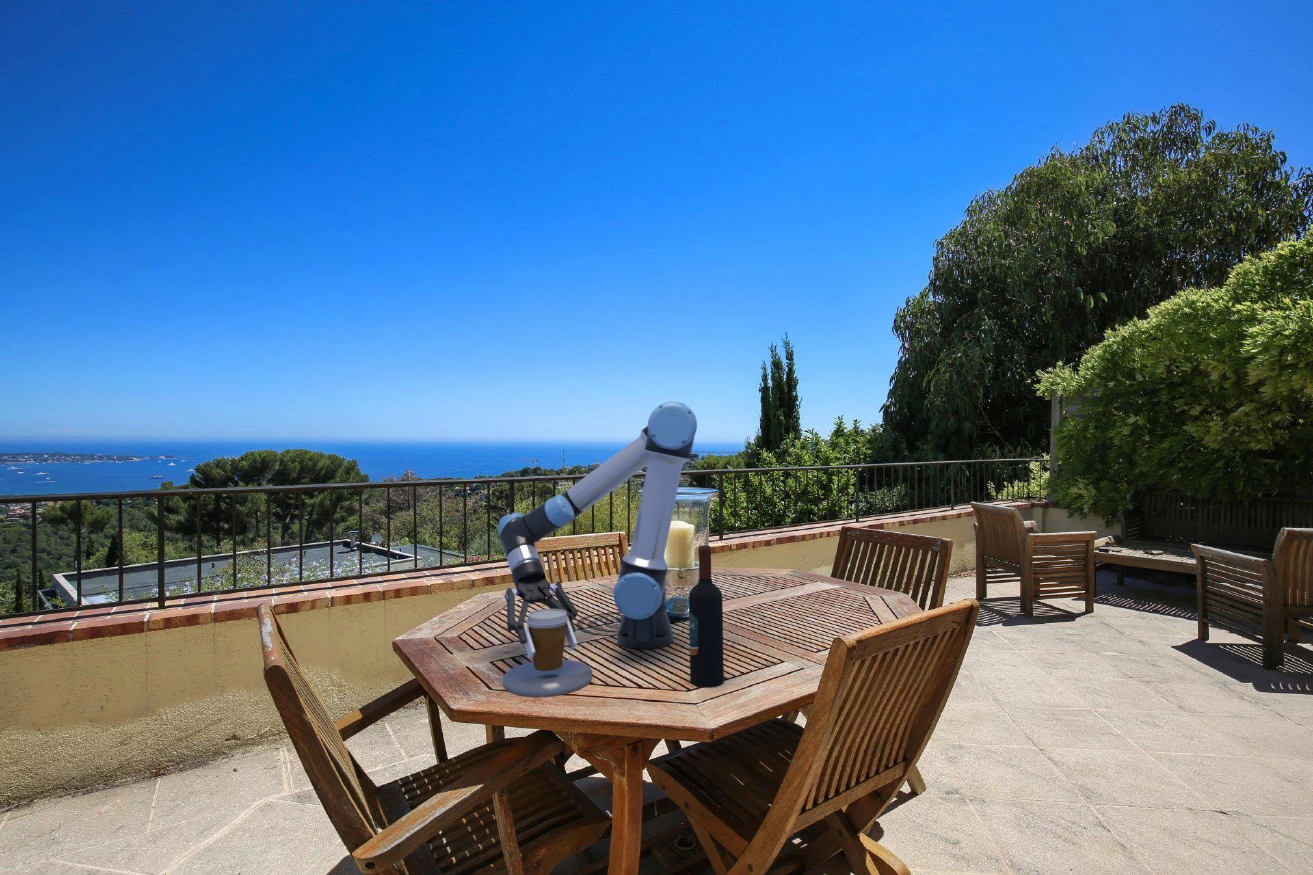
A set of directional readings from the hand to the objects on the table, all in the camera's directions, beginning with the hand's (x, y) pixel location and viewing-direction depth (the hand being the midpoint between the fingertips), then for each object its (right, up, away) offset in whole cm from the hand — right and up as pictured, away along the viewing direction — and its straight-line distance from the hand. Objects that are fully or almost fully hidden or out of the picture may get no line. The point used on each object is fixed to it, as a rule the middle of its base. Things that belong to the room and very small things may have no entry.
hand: (553, 650), depth 139 cm
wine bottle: (+34, -7, 0) cm, 35 cm away
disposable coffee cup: (-2, -5, +3) cm, 6 cm away
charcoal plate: (-2, -7, +2) cm, 8 cm away
